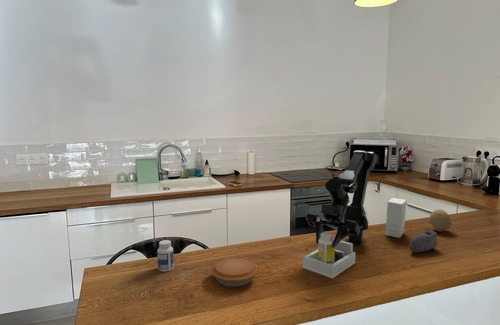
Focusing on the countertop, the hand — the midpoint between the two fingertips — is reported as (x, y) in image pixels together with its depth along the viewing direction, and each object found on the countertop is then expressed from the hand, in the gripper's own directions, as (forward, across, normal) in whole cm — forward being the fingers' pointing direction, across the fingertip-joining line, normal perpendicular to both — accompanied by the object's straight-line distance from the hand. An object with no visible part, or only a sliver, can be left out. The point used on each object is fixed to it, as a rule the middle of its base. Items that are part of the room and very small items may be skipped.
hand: (324, 245), depth 121 cm
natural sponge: (-41, +26, +54) cm, 73 cm away
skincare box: (-29, +11, +43) cm, 53 cm away
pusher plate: (+1, +1, +9) cm, 9 cm away
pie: (+23, -21, -10) cm, 33 cm away
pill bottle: (+29, -45, -16) cm, 56 cm away
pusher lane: (+4, 0, +9) cm, 10 cm away
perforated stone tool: (-20, +25, +34) cm, 46 cm away
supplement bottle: (+4, 0, +6) cm, 7 cm away
